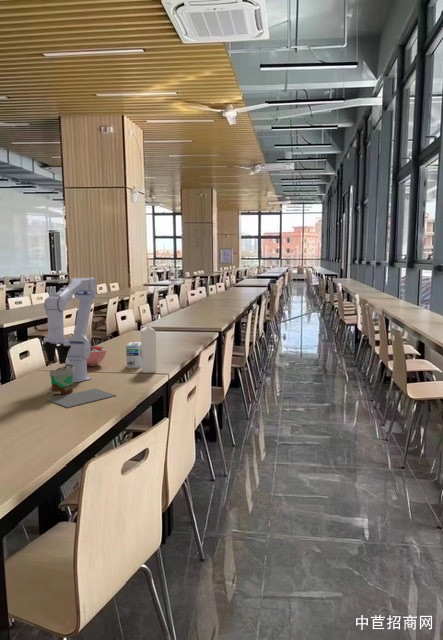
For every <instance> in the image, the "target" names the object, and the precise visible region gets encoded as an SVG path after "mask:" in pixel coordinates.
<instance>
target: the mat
mask: <svg viewBox="0 0 443 640" xmlns="http://www.w3.org/2000/svg"><path fill="white" fill-rule="evenodd" d="M114 397H117V395H116V394H114V393H112V392H111V393H110V392H108V391H105V390H102V389H99V388H91V389H86V390H83V391H82V390H81V391H78V392H72V393H70V394H67V395H61V396H54V397H51V398H47V399H46V400H47V401H48V402H49V403H50V402H51V403H54V405H55V404H56V405H59V406H61V407H64V408H65V409H69V408H73V407H77V406H81V405H85V404H90V403H94V402H98V401H101V400H105V399H110V398H114Z"/></svg>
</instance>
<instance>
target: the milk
mask: <svg viewBox="0 0 443 640" xmlns="http://www.w3.org/2000/svg"><path fill="white" fill-rule="evenodd" d="M156 332H157V331H156V330H155V329H154V328H152V327H151V326H150V323H149V322H146V325H145V326H144V327H143V328H141V329H140V342H141V359H142V366H141V371H142V372H143V374H144V373H146V374H147V373H157V372H158V371H157V340H156V339H157V337H156V336H157V335H156Z"/></svg>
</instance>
